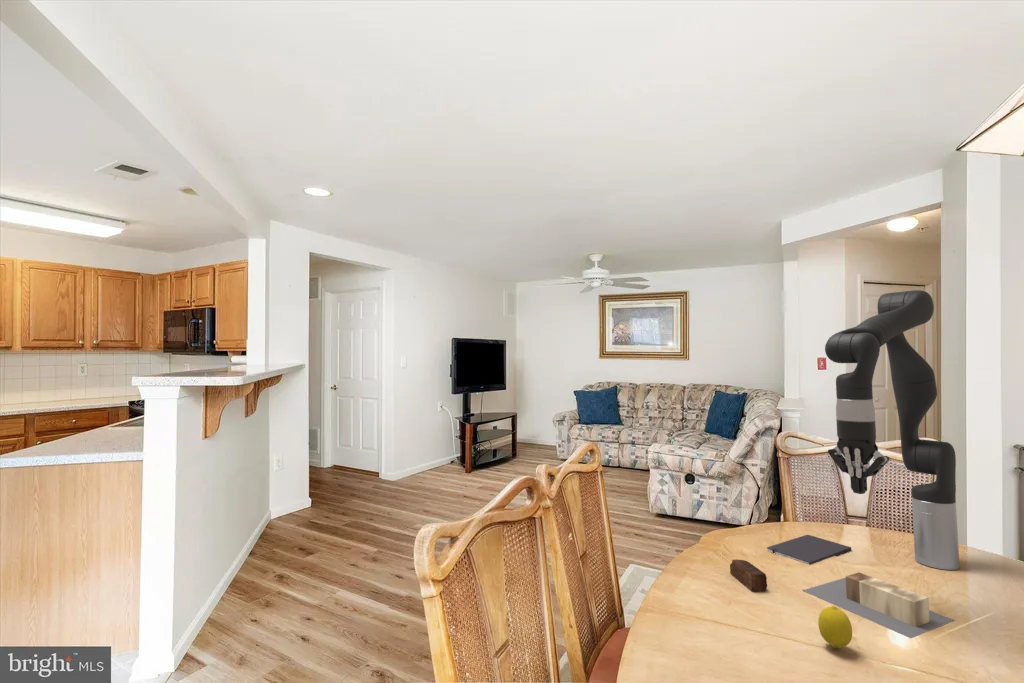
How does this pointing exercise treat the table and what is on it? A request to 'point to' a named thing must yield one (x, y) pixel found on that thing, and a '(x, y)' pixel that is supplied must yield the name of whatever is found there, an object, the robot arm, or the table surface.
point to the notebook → (809, 549)
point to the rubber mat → (837, 596)
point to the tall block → (888, 599)
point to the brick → (749, 575)
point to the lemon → (835, 627)
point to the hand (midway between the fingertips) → (859, 493)
